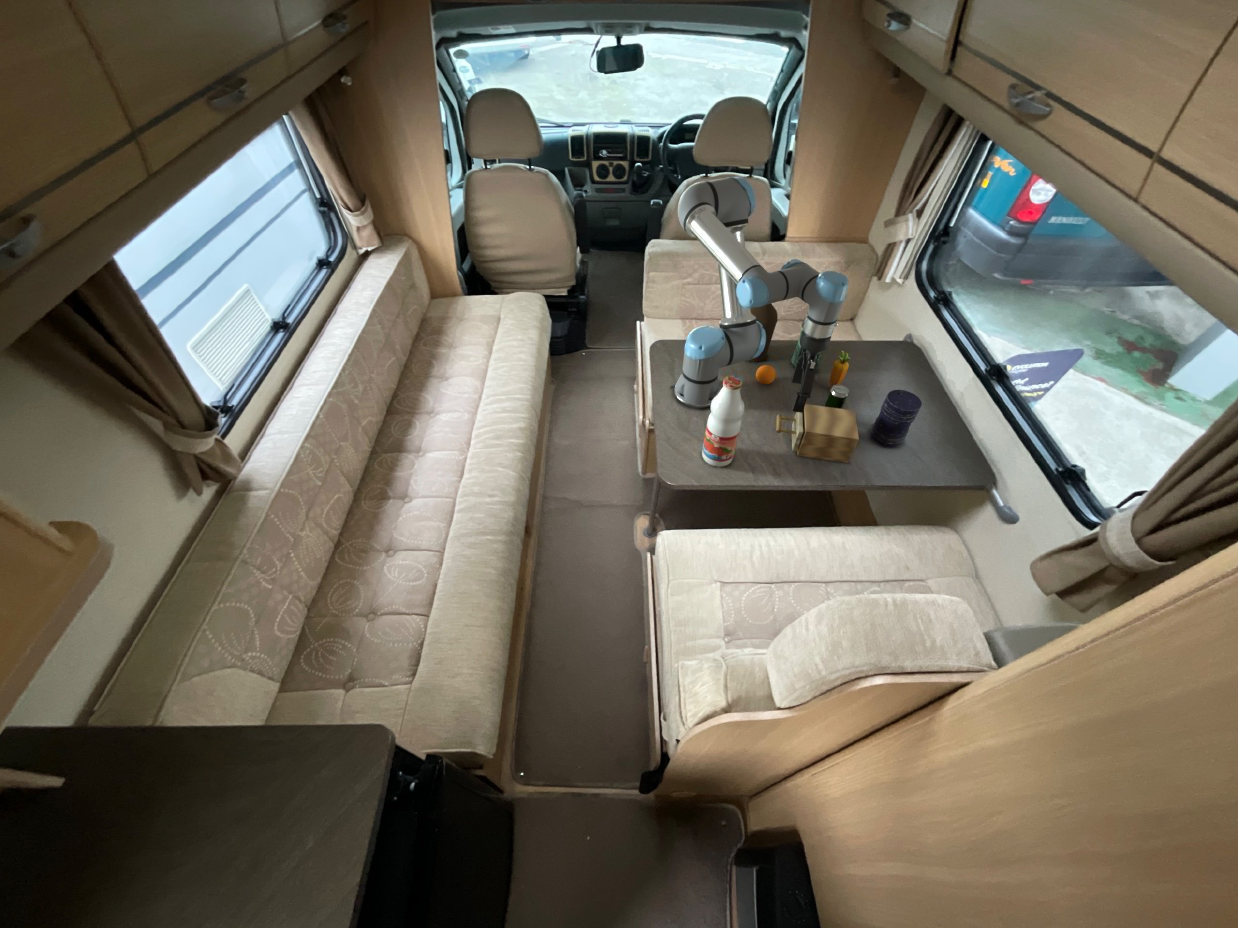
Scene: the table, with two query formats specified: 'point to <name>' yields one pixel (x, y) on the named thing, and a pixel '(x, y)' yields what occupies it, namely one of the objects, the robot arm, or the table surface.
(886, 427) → the storage jar
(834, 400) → the beer can
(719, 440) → the fruit juice
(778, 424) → the drawer
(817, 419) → the cabinet
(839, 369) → the carrot
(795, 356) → the coffee jar
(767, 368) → the orange
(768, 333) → the olive oil
